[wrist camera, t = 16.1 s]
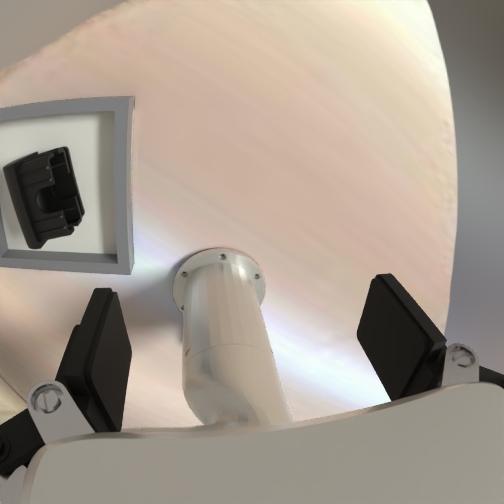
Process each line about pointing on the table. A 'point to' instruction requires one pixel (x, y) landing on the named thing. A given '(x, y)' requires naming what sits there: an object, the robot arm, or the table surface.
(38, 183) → the end cap
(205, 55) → the table surface
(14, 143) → the tray
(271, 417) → the robot arm
